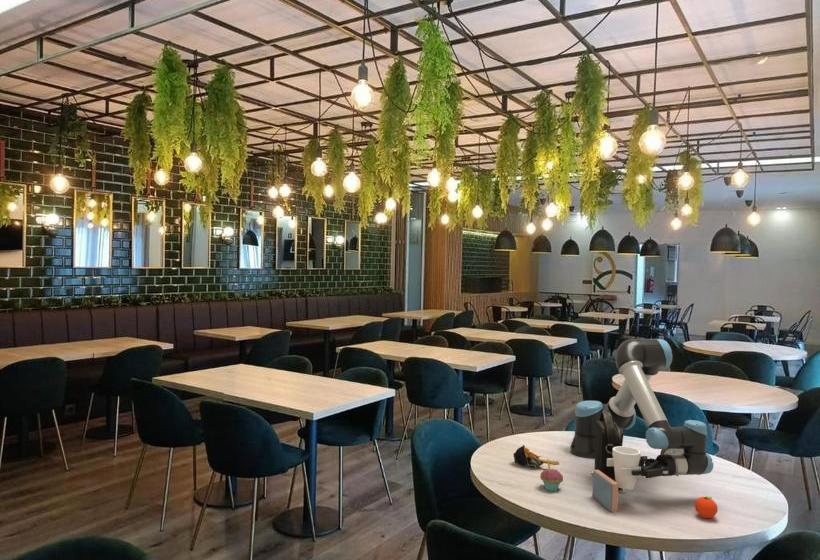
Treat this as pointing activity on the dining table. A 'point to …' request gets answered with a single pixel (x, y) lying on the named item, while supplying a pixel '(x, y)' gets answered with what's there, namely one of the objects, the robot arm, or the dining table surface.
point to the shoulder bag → (606, 444)
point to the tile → (605, 490)
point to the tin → (672, 451)
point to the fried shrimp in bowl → (530, 458)
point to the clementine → (706, 507)
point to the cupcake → (551, 478)
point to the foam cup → (625, 465)
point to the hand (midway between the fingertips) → (614, 467)
